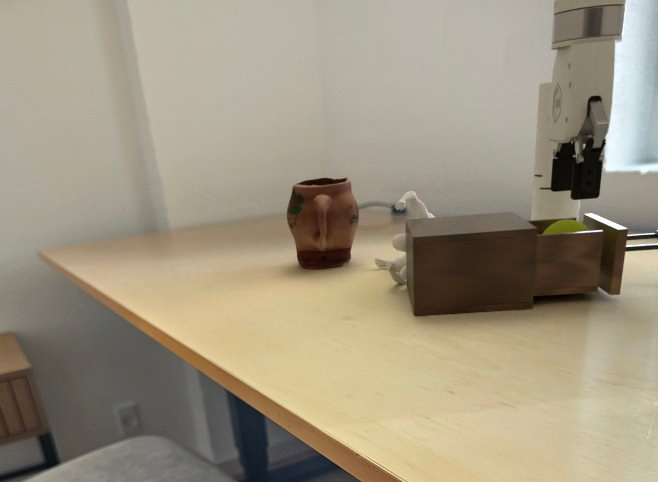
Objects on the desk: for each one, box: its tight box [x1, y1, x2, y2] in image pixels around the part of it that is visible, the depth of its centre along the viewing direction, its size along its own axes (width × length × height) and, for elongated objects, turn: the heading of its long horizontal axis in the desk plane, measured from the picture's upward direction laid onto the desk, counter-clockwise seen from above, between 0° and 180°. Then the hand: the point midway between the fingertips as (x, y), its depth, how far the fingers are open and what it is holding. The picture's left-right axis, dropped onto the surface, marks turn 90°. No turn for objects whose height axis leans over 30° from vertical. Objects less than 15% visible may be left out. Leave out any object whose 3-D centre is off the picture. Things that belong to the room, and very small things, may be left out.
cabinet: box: [405, 211, 538, 317], centre depth 86 cm, size 15×15×10 cm
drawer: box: [526, 213, 658, 297], centre depth 85 cm, size 22×13×8 cm, turn 87°
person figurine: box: [373, 190, 436, 285], centre depth 101 cm, size 13×13×18 cm
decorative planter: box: [286, 177, 360, 270], centre depth 112 cm, size 20×12×14 cm, turn 5°
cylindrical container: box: [530, 81, 586, 222], centre depth 101 cm, size 7×7×25 cm
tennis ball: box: [543, 219, 589, 234], centre depth 85 cm, size 7×7×7 cm
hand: (573, 194), depth 82 cm, fingers open, 8 cm apart
